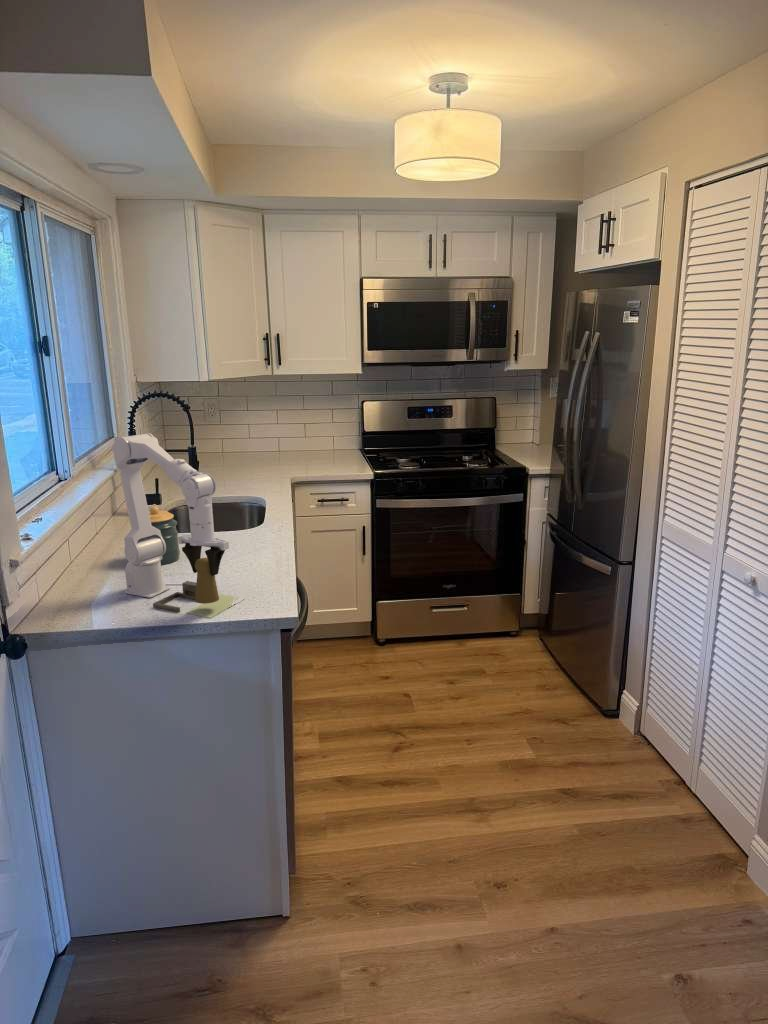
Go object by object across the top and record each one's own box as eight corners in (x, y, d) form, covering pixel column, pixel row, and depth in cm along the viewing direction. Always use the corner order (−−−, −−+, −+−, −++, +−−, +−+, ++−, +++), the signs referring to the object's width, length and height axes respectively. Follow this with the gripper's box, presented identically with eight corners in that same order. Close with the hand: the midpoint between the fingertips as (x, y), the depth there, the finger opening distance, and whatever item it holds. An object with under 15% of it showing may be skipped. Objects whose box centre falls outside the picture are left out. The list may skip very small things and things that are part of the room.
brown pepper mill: (221, 596, 178) (219, 555, 176) (216, 603, 172) (214, 561, 170) (198, 596, 178) (195, 555, 176) (192, 603, 172) (190, 561, 170)
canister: (167, 567, 210) (162, 512, 206) (129, 565, 213) (123, 510, 208) (187, 554, 222) (182, 502, 218) (151, 552, 225) (146, 500, 220)
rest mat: (186, 613, 175) (186, 612, 175) (220, 594, 187) (220, 594, 187) (211, 618, 171) (211, 617, 171) (244, 599, 184) (244, 598, 183)
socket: (153, 607, 178) (151, 593, 177) (191, 589, 192) (190, 575, 191) (178, 612, 175) (176, 598, 174) (215, 593, 188) (214, 579, 187)
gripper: (168, 523, 170) (172, 574, 173) (214, 529, 164) (218, 582, 167) (187, 516, 176) (191, 565, 180) (232, 522, 170) (236, 573, 174)
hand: (205, 573), depth 174 cm, fingers closed on brown pepper mill, 5 cm apart
